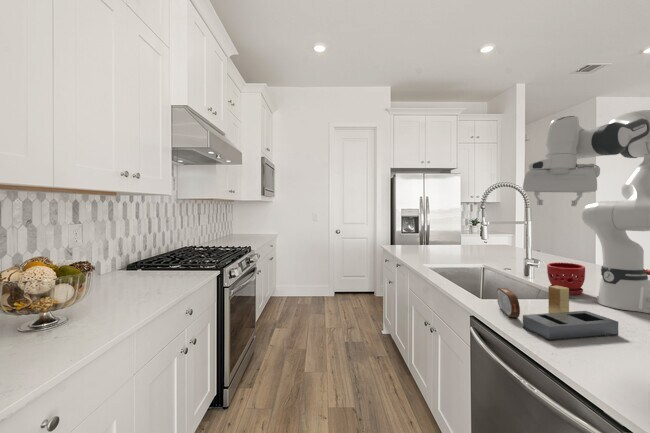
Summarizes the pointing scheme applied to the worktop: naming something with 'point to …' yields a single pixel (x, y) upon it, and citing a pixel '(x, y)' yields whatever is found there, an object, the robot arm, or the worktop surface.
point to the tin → (508, 302)
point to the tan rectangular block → (558, 299)
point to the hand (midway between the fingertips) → (556, 205)
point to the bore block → (570, 325)
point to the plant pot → (567, 276)
